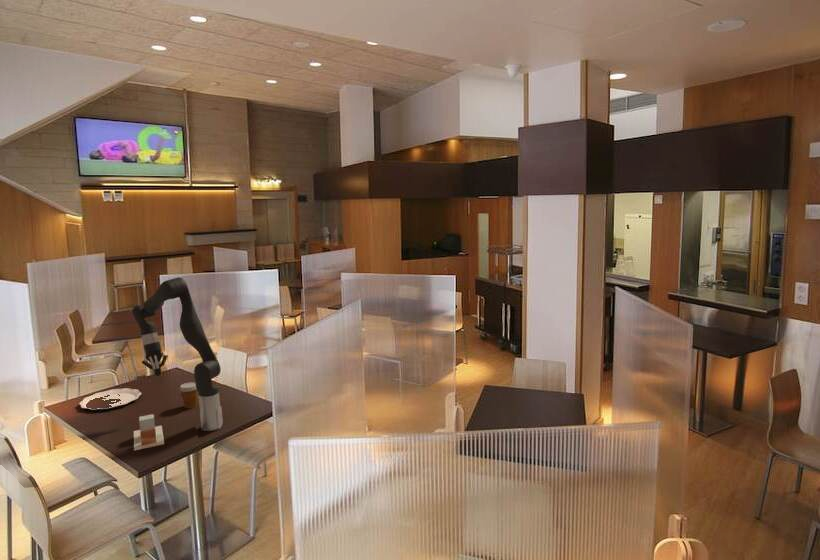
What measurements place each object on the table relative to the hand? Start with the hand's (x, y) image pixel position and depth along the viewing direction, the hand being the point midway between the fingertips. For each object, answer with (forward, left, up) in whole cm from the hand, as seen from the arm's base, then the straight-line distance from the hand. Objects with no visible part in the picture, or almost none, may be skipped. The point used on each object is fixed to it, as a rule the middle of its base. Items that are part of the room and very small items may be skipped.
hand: (158, 375), depth 261 cm
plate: (+37, -23, -22) cm, 48 cm away
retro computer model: (-4, +27, -20) cm, 33 cm away
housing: (-4, +28, -21) cm, 35 cm away
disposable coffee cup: (-10, -11, -22) cm, 26 cm away
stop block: (-7, +34, -20) cm, 40 cm away
